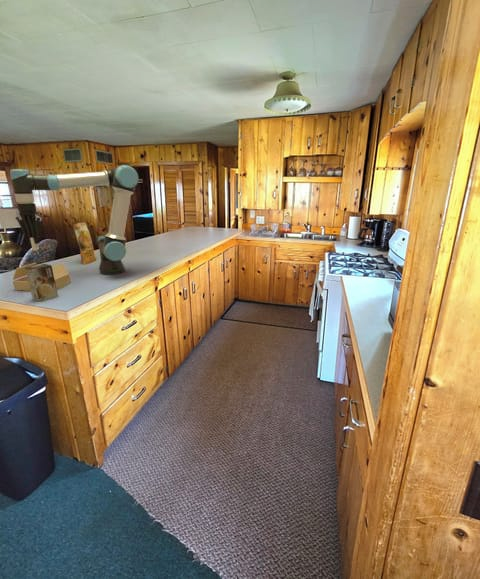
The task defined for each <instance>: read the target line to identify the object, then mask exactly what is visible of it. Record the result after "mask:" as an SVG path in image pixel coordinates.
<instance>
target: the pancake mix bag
mask: <svg viewBox="0 0 480 579" xmlns="http://www.w3.org/2000/svg"><path fill="white" fill-rule="evenodd" d="M72 227H73V232H74V235H75V239H76V242H77V244H78V247H79V253H80V258H81V259H80V260H81V265H88V264H90V263H93V262H95V261H97V258H96V255H95V250H94V244H93V241H92V236H91V234H90V230H89V228H88V226H87V223H86V221H83V222H78V223H74V224H73V226H72Z"/></svg>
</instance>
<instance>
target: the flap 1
mask: <svg viewBox="0 0 480 579" xmlns="http://www.w3.org/2000/svg"><path fill="white" fill-rule="evenodd" d="M36 265H37V262H33V263H29V264H26V265H22V266H20V267H16V269H15V271H14V273H13V277H12V281H15V280H18V279H20V278H23V277H26V276H27V274H26V270H25V267H30V266H36Z"/></svg>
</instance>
